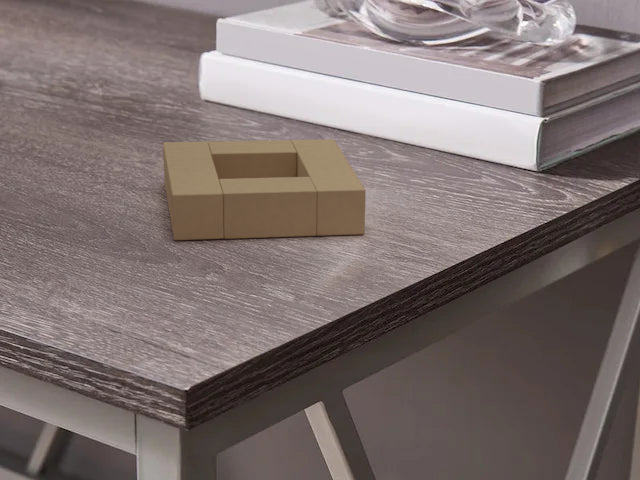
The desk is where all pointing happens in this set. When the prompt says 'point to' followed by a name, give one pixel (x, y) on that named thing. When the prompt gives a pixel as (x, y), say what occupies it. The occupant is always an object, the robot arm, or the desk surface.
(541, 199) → the desk surface
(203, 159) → the socket pad
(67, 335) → the desk surface
